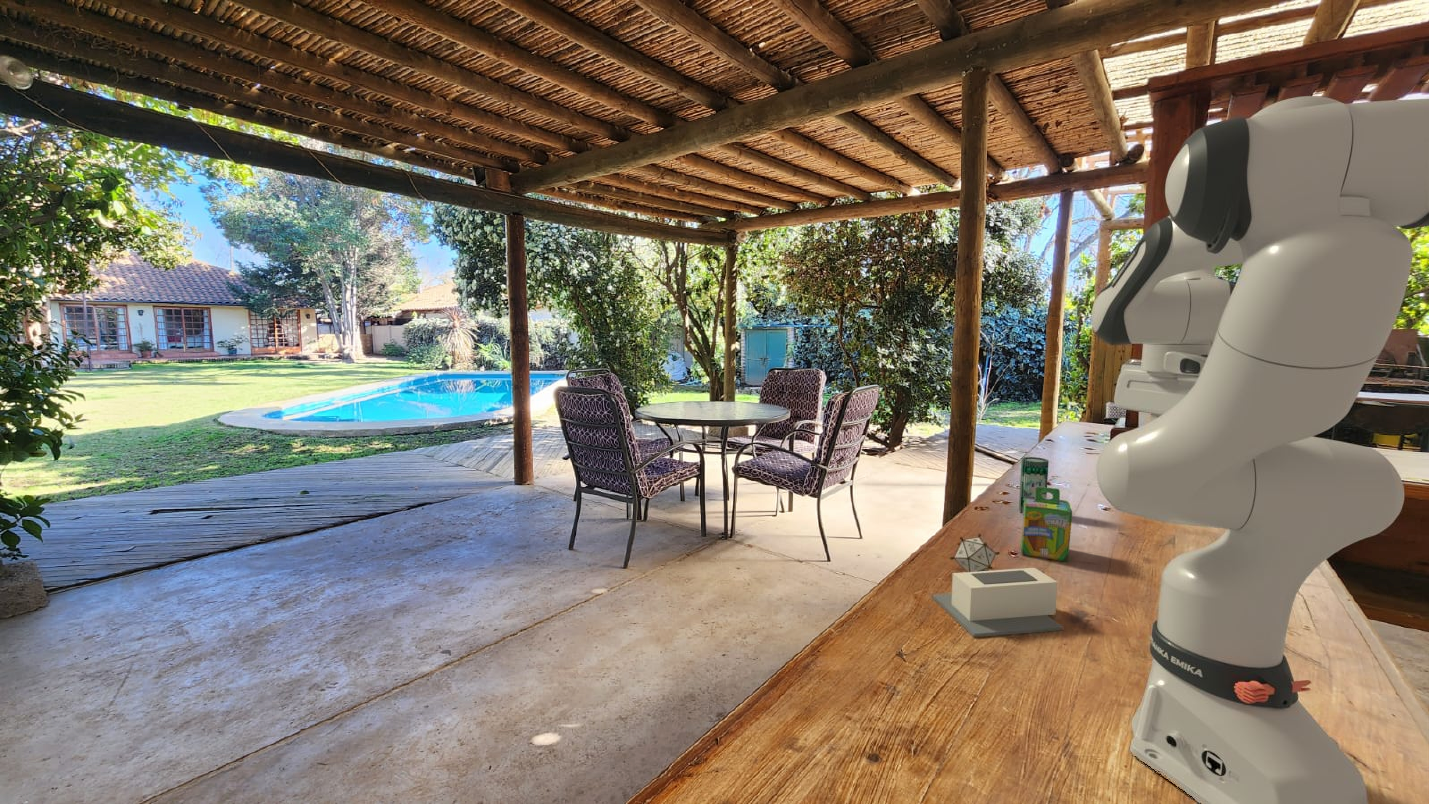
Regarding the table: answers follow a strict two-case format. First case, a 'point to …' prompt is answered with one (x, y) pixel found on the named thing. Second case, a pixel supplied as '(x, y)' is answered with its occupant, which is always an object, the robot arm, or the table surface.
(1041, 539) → the chalk box
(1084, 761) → the table surface
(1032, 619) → the rubber mat
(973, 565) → the game die
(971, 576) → the cream block
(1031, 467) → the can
